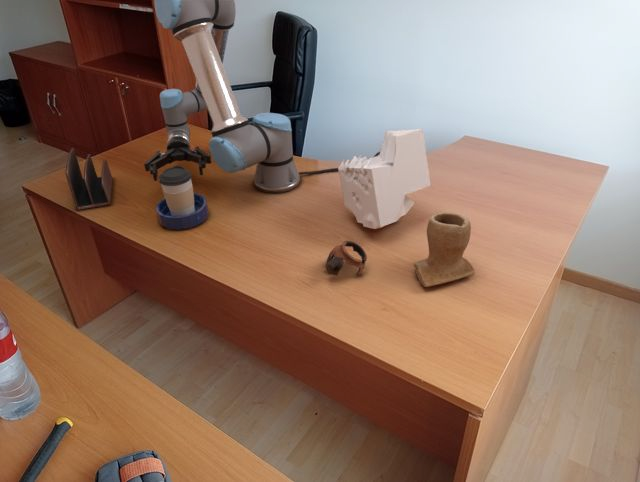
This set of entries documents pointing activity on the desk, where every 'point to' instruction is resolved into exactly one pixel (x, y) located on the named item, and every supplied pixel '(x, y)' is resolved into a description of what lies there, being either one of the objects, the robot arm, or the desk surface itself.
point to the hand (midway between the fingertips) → (177, 174)
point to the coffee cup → (178, 190)
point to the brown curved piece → (345, 258)
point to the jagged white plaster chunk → (385, 179)
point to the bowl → (185, 220)
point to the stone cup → (445, 250)
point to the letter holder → (88, 183)
